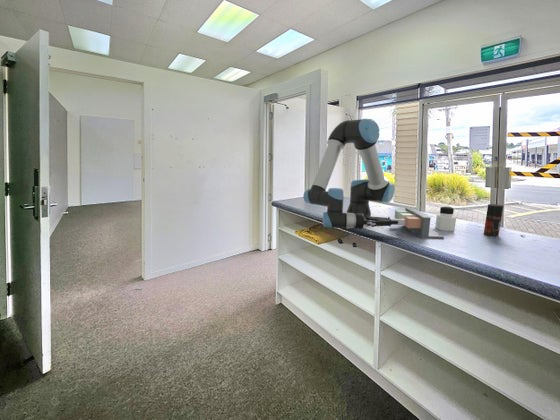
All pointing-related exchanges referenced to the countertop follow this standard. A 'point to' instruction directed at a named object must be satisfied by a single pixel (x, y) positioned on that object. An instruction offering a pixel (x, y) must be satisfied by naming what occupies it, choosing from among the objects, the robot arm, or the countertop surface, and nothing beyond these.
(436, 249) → the countertop surface
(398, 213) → the sage key
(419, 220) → the terracotta key
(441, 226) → the medicine bottle
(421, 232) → the grey slotted block
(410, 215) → the cream key
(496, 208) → the deodorant
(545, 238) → the countertop surface
